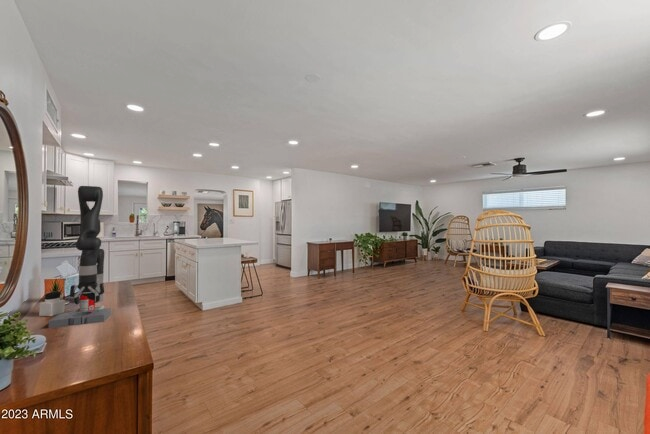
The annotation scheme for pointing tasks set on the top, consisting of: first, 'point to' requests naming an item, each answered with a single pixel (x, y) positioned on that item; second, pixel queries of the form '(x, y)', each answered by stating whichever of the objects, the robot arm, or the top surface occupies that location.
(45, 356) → the top surface
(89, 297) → the beverage can
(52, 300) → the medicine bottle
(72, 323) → the socket plate
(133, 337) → the top surface
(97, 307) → the tray frame
